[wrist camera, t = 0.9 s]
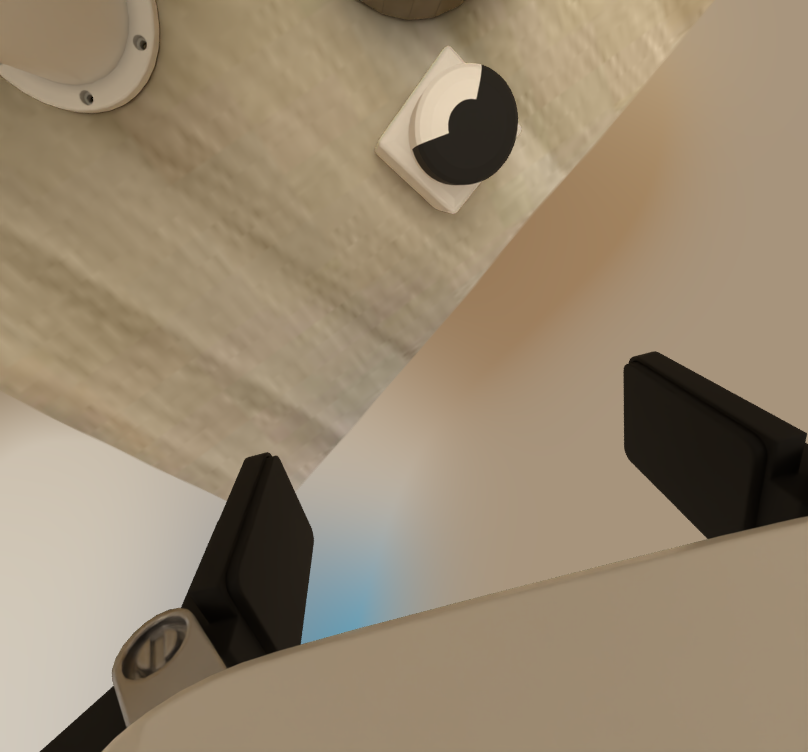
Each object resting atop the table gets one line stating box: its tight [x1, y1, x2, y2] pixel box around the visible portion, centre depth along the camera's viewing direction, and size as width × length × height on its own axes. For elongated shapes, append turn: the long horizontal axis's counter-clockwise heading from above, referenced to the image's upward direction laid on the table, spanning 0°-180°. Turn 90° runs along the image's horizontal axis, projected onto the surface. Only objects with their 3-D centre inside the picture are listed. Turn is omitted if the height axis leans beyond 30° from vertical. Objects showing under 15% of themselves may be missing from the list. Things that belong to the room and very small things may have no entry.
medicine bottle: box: [375, 46, 522, 214], centre depth 28 cm, size 7×7×12 cm
